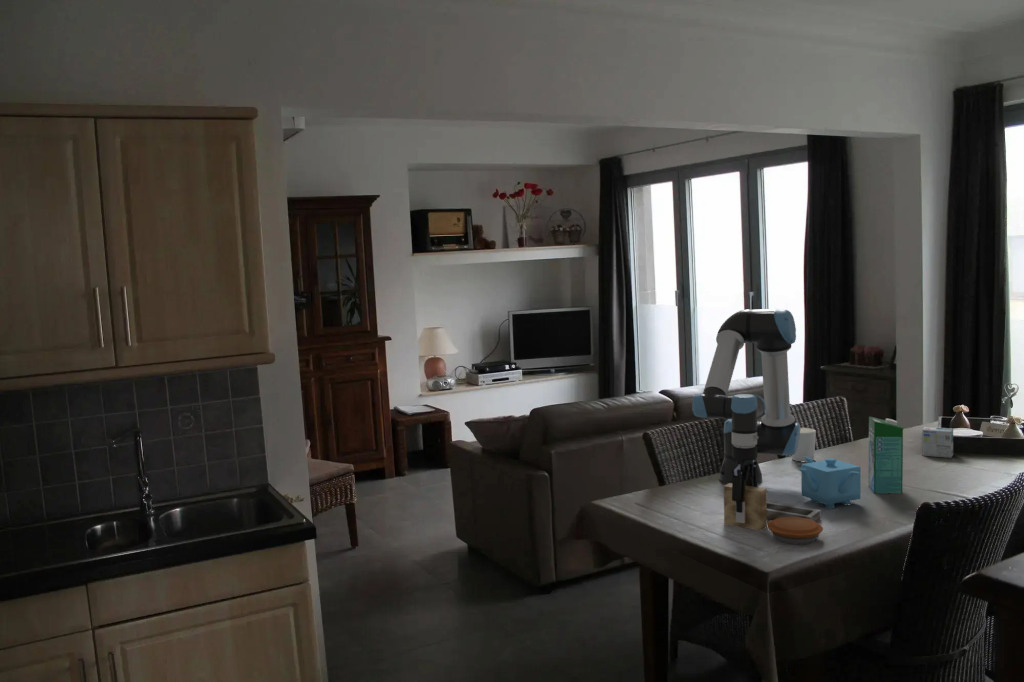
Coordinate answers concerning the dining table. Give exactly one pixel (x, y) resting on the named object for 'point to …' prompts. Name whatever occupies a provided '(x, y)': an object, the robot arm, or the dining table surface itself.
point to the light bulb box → (937, 442)
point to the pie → (795, 530)
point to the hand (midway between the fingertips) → (745, 519)
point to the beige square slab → (747, 507)
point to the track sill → (791, 512)
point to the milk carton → (885, 456)
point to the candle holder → (805, 445)
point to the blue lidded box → (830, 481)
